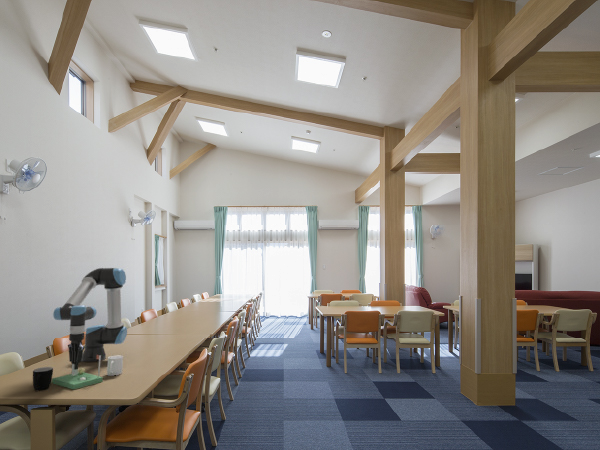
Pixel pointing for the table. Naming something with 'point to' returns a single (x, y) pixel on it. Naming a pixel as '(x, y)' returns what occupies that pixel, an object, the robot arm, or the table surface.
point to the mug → (42, 378)
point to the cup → (114, 365)
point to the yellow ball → (81, 370)
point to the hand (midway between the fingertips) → (74, 375)
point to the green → (78, 379)
